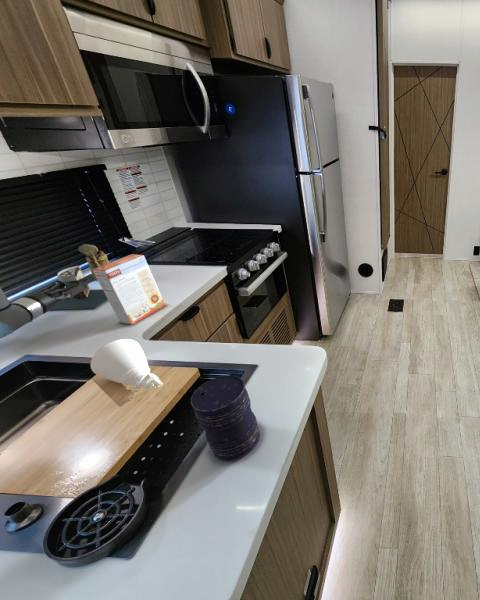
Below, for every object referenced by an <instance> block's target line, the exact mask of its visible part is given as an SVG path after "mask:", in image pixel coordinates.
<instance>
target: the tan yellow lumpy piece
mask: <svg viewBox="0 0 480 600" xmlns="http://www.w3.org/2000/svg"><path fill="white" fill-rule="evenodd" d="M77 250H78V251H79V252H80V253H81V254H83V255H85V259H86V262H87V263H88V266H89V269H90V272H91V273H90V274H92V275H93V277H94V279H95V280H94V281H98V280H97V278H96V276H95V274H94V272H93V269H95V268H98V267H100V266H103V265H105V264H108V263H111V261H109V259H108V256H107V254H106V253H104V251H103V250H99V248H98V247H97V246H96V245H94V244H90V243H82V244H80V245H79V246H78V248H77Z"/></svg>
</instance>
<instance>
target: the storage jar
mask: <svg viewBox="0 0 480 600" xmlns="http://www.w3.org/2000/svg"><path fill="white" fill-rule="evenodd" d="M248 392H249V391H248V390H247V388H246V385H245V382H244V380H243V379H242V378H241V377H239V376H236V375H221V376H217V377H213V378H212V379H210V380H207V381H206V382H204V383H203V384H201V385H200V386H199V387H198V388H196V390H195V391H194V392H193V394H192V395H191V398H190V404H191V406H192V408H193V411H194V414H195V418H196V419H197V421H198V424H199V425H200V426H201V428H203V430H204V433H205V434H204V435H205V439H206V441H207V444H208V446H209V448H210V449H211V452H212V454H213V456H214V457H215V458H216V459H217V460H219V461H221V462H233V461H237V460H240V459H242V458H244V457H245V456H247V455H248V454H250V453H251V452H253V450H254V449H255V448H256V447H257V445H258V443H260V439H261V431H260V429H259V423H258V421H257V417H256V415H255V413H254V411H252V407H251V405H252V404H251V398H250V396H249V393H248Z"/></svg>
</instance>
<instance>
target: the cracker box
mask: <svg viewBox="0 0 480 600" xmlns="http://www.w3.org/2000/svg"><path fill="white" fill-rule="evenodd" d="M150 268H151V267H150V266H149V264H148V262H147V259H146V257H145V255H143V254H134V253H132V254H129V255H126V256H123V257H121V258H118V259H116V260H114V261H110V263H108V264H105V265H103V266H100V267H98V268H95V269H93V272H94V274H95V276H96V278H97V280H96V281H97V282H98V284H99V285H100V288H101V290H102V289H103V291H104V293H105V295H106V297H107V298H108V302H109V304H110V306H111V308H112V310H113V312H114V313H115V315H116V317H117V319H118V322H119V323H121V324H126V325H135V324H136V323H138V322H139V321H141V320H143V319H145V318H146V317H149V316H150V315H151V314H153V313H155V312H156V311H159V310H160V309H162V308H163V307H165V306H166V302H165V301H164V297H162V296H163V295H162V294H161V292H160V290H159V287H158V285H157V282H156V280H155V278H154V275H153V273H152V270H151V269H150Z"/></svg>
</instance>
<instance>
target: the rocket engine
mask: <svg viewBox="0 0 480 600" xmlns="http://www.w3.org/2000/svg"><path fill="white" fill-rule="evenodd" d="M90 370H91V371H92V372H93V374H94V375H97V376H99V377H101V378H103V379H106V380H108V381H112V382H114V383H118V384H122V386H123V387H124V386H125V387H126V386H128V385H134V388H133V389H131V390H132V391H134V392H133V393H137V392H138V391H139V390H136V388H137V389H138V388H139V389H141V387H142V386H143V388H144V389H149V388H150V389H151V387H152V386H154V385H155V386H156V387H160V386H161V387H163V385H164V382H162V380H160V377H158V376H157V375H156V374H154V373H152V372H151V368H150V366H149V363H148V359H147V357H146V355H145V351H144V350H143V348H142V346H141V345H140V343H139V342H137V340H134V339H130V338H121V339H120V338H119V339H116V340H113V341H110V342H108V343H106V344H105V345H103V346H101V347H100V348H99V349H98V350H97V351H96V352H95V353H94V354H93V355H92V358H91V360H90ZM139 386H140V387H139ZM125 387H124V388H125ZM161 387H160V388H161Z"/></svg>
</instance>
